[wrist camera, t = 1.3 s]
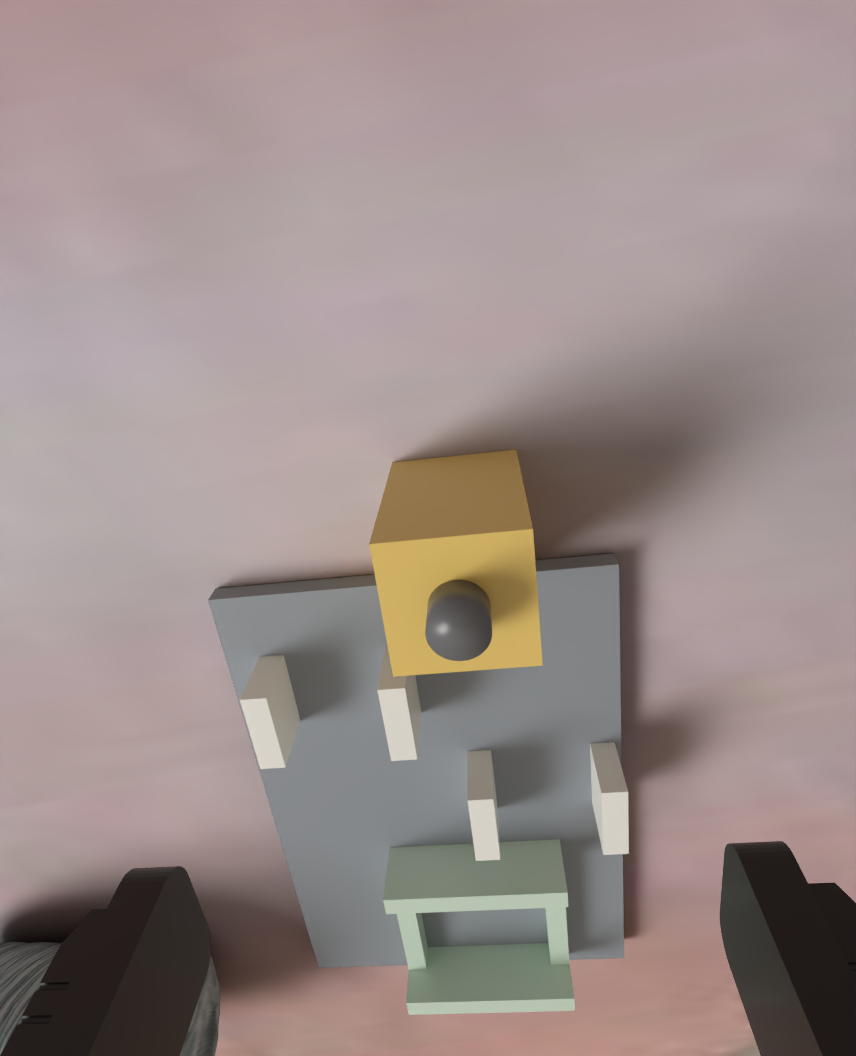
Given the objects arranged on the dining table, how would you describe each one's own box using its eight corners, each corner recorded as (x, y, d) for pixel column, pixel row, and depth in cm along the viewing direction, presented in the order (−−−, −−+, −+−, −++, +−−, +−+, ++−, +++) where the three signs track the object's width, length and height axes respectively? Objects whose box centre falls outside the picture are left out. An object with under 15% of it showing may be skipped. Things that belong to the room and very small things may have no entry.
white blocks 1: (259, 656, 25) (239, 699, 23) (410, 645, 24) (404, 688, 22) (277, 722, 26) (260, 769, 24) (421, 712, 26) (417, 759, 23)
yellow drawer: (392, 462, 22) (362, 567, 16) (516, 449, 22) (538, 551, 15) (409, 570, 24) (388, 705, 17) (524, 560, 24) (547, 694, 17)
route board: (215, 588, 25) (208, 600, 24) (614, 553, 23) (619, 564, 23) (322, 951, 33) (318, 967, 32) (620, 940, 32) (623, 958, 31)
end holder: (389, 847, 29) (382, 900, 26) (559, 839, 28) (567, 892, 26) (412, 959, 32) (409, 1014, 29) (567, 954, 31) (574, 1010, 29)
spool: (212, 945, 28) (73, 1291, 22) (277, 971, 35) (185, 1235, 30) (-52, 854, 31) (-231, 1134, 26) (58, 895, 39) (-62, 1119, 33)
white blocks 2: (467, 751, 26) (467, 800, 24) (614, 742, 26) (628, 791, 24) (474, 809, 27) (475, 861, 25) (615, 801, 27) (628, 853, 25)
